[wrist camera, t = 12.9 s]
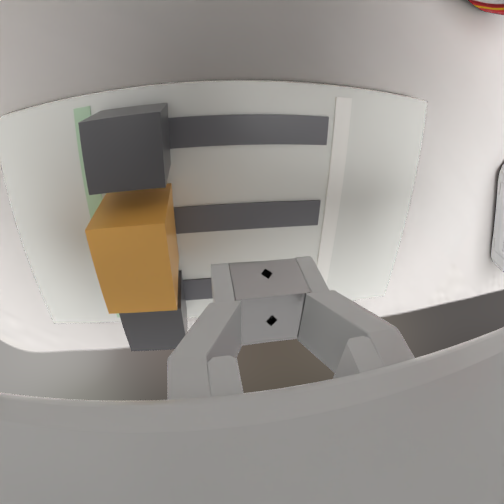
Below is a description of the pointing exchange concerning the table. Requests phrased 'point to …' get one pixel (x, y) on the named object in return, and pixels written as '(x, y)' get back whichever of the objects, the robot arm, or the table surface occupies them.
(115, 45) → the table surface
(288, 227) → the white slider board
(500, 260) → the photo printer
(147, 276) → the orange handle
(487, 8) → the soda can
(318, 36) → the table surface
